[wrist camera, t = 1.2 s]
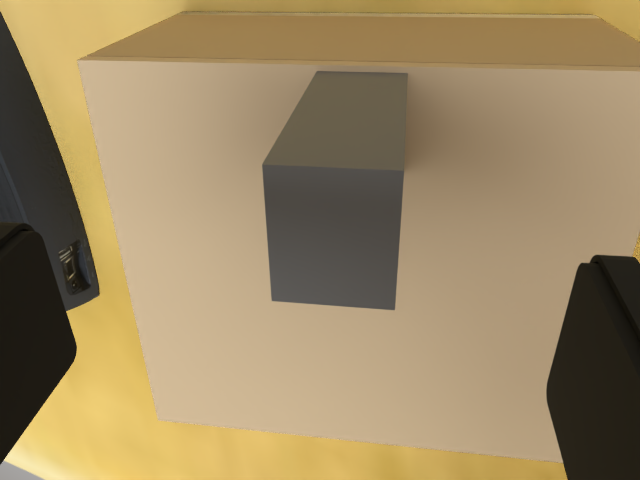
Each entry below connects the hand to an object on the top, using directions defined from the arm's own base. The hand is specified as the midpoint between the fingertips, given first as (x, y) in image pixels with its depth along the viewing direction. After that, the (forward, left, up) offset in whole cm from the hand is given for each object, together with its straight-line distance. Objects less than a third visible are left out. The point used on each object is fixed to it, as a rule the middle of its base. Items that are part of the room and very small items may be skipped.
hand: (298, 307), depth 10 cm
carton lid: (-7, 0, -12) cm, 14 cm away
